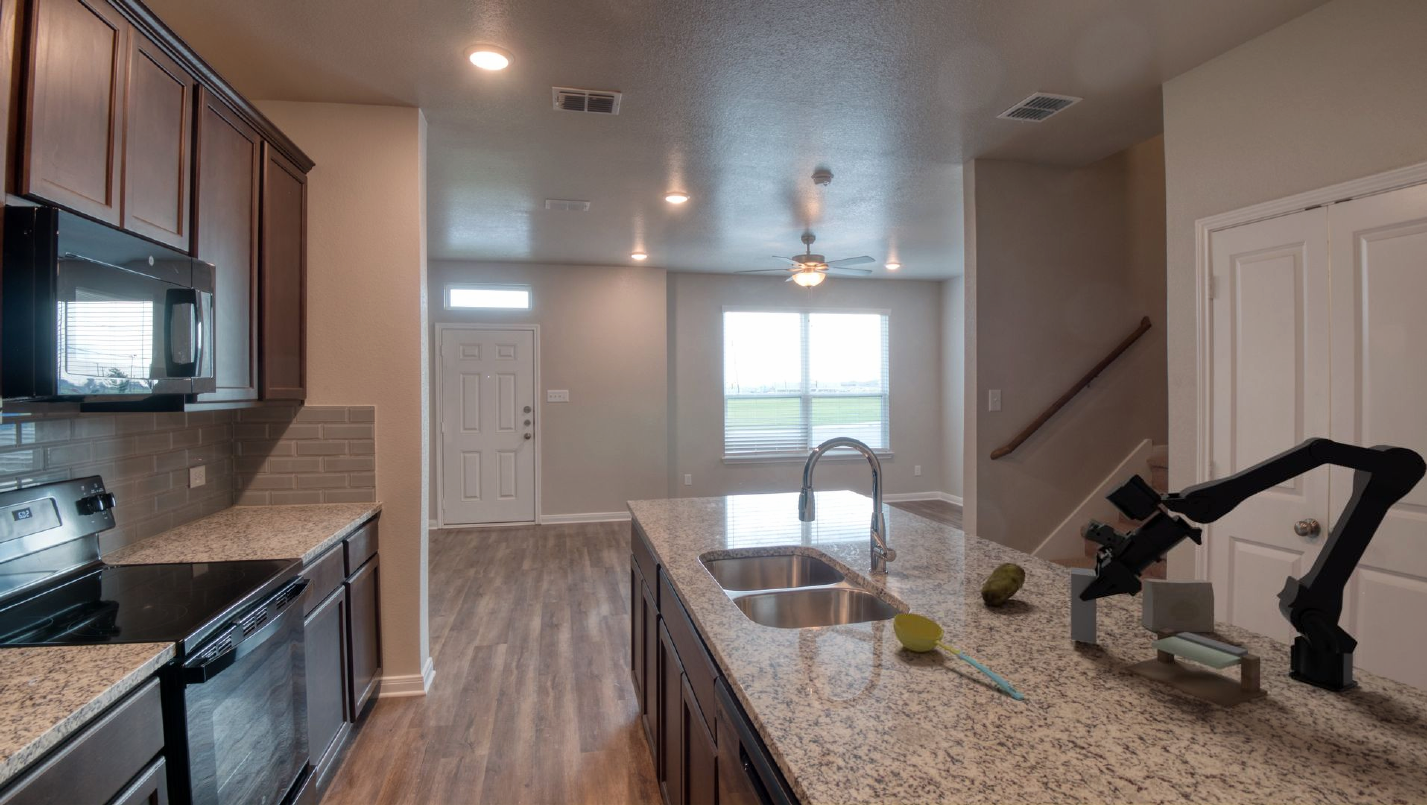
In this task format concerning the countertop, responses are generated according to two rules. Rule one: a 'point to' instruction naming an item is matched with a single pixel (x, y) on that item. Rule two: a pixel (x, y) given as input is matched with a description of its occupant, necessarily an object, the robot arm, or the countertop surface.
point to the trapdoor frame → (1202, 677)
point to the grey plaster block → (1178, 605)
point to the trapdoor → (1201, 650)
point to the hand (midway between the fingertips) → (1080, 595)
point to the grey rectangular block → (1082, 606)
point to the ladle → (935, 642)
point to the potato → (1003, 583)
